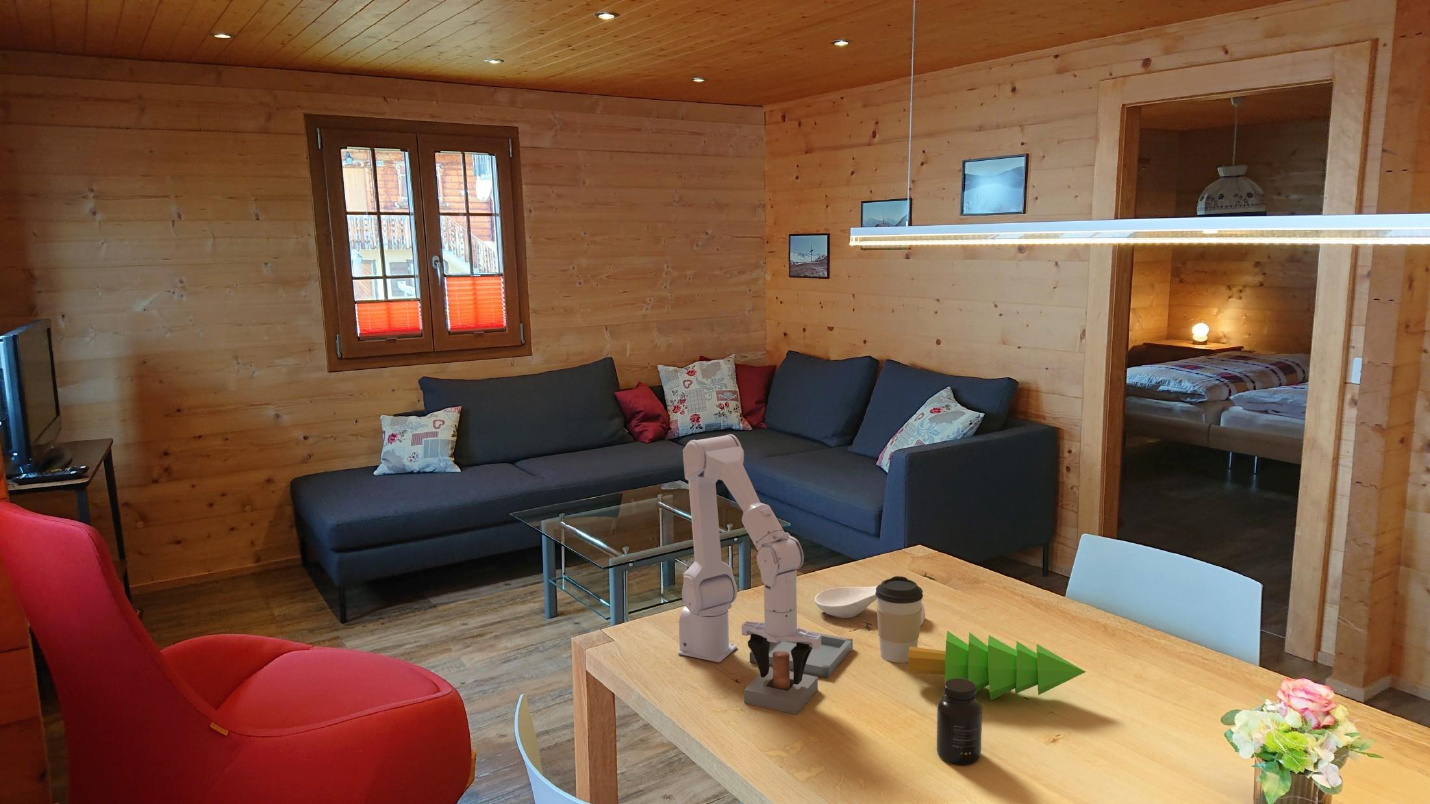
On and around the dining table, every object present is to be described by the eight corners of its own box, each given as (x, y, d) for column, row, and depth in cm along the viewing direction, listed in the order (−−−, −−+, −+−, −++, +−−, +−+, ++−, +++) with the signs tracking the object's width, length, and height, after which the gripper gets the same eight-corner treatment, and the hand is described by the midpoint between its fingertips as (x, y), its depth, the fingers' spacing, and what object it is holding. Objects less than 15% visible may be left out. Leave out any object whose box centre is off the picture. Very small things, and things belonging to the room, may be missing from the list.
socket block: (744, 702, 168) (743, 689, 168) (767, 679, 177) (767, 666, 177) (796, 714, 164) (796, 701, 163) (817, 689, 173) (817, 676, 172)
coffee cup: (922, 667, 181) (923, 592, 178) (873, 663, 182) (874, 589, 180) (921, 646, 189) (923, 575, 187) (875, 643, 191) (876, 572, 189)
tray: (749, 662, 184) (749, 652, 184) (778, 634, 196) (778, 625, 196) (827, 678, 177) (827, 668, 177) (852, 648, 189) (852, 639, 189)
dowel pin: (770, 698, 170) (769, 656, 168) (777, 691, 172) (776, 649, 171) (785, 701, 168) (785, 659, 167) (792, 694, 171) (792, 652, 170)
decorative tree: (910, 615, 174) (1085, 625, 166) (913, 659, 180) (1083, 671, 171) (904, 662, 165) (1089, 675, 156) (908, 707, 171) (1087, 722, 162)
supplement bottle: (930, 745, 153) (932, 675, 151) (971, 742, 154) (973, 673, 152) (944, 768, 147) (946, 696, 144) (987, 765, 147) (989, 693, 145)
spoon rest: (808, 620, 204) (808, 588, 203) (821, 600, 215) (821, 570, 214) (920, 633, 196) (920, 600, 195) (928, 612, 207) (928, 581, 206)
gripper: (733, 607, 167) (734, 679, 170) (810, 621, 161) (810, 696, 163) (750, 594, 173) (751, 663, 176) (825, 606, 167) (825, 679, 169)
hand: (781, 678), depth 170 cm, fingers open, 6 cm apart
